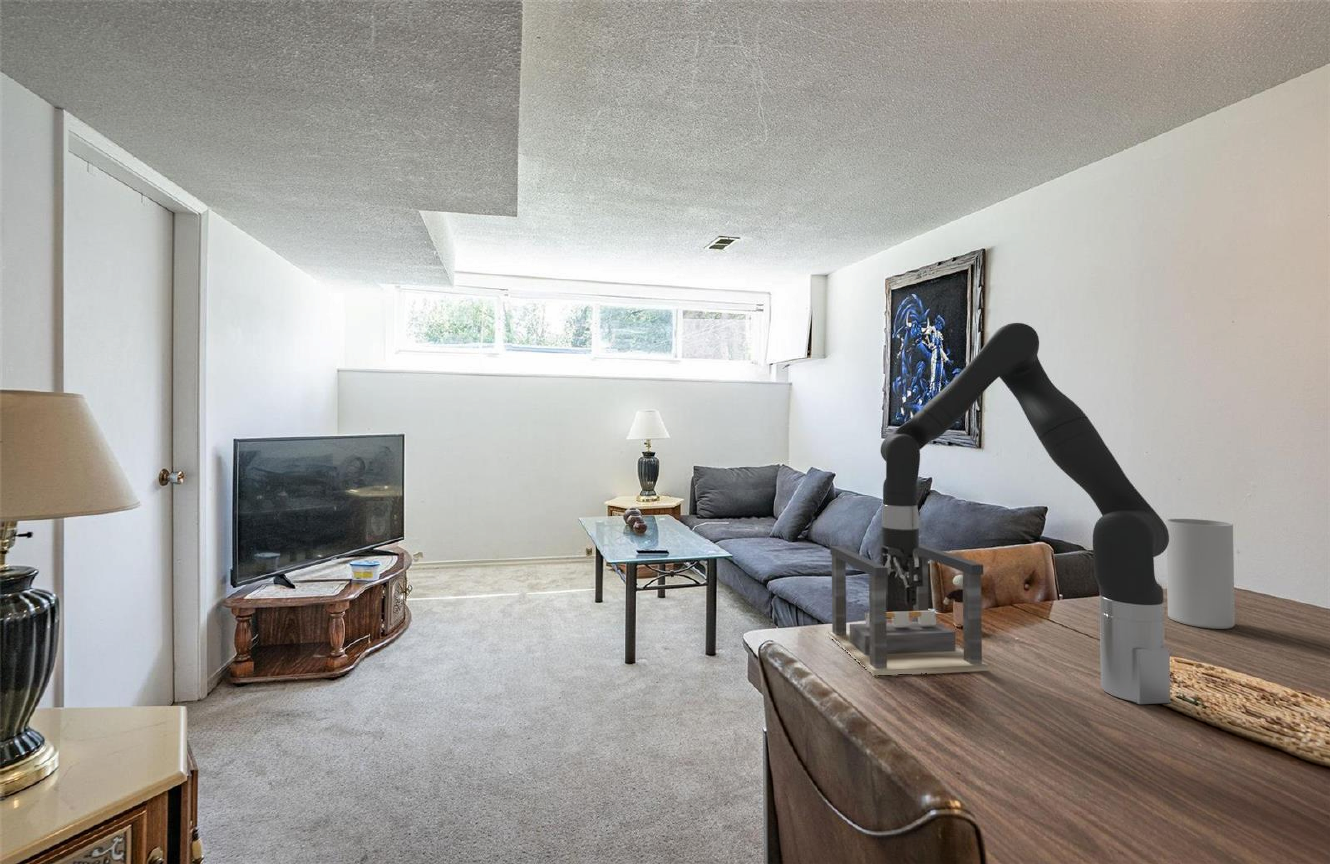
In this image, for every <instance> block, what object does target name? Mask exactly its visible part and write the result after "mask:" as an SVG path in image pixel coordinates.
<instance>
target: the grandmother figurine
mask: <svg viewBox="0 0 1330 864" xmlns="http://www.w3.org/2000/svg"><path fill="white" fill-rule="evenodd" d="M952 584H953V585H954V587H955V588H956V589H953V590H950V591H949V592H947V594H946V595H945V597H944V600H943V604H944V605H949V602H950V601H951V600H953V606H952V607H953V609H952V610H953V612H952V615H953V624H954V625H955V626H961V625H963V574H958V575H955V576H954V578H953V579H952Z"/></svg>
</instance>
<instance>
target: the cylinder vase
mask: <svg viewBox="0 0 1330 864" xmlns="http://www.w3.org/2000/svg"><path fill="white" fill-rule="evenodd" d="M1165 525H1166V527H1167V529H1168V533H1169V543H1168V546H1167V548H1166V581H1167V582H1166V584H1167V585H1166V589H1167V591H1166V592H1167V595H1166V596H1167V599H1166V600H1167V616H1168V618H1170V619H1171V620H1172V621H1175V622H1177V623H1180V624H1183V625H1188V626H1190V627H1197V628H1203V629H1214V630H1225V629H1226V630H1227V629H1231V628H1233V627H1234V626H1235V625H1236V624H1235V623H1236V621H1235V617H1236V616H1235V573H1234V572H1235V567H1234V565H1235V563H1234V561H1235V560H1234V558H1235V557H1234V524H1233V523H1230V522H1227V521H1226V522H1225V521H1219V520H1211V519H1209V520H1208V519H1198V518H1196V519H1195V518H1194V519H1193V518H1170V519H1166V521H1165Z"/></svg>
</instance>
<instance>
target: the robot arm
mask: <svg viewBox="0 0 1330 864" xmlns="http://www.w3.org/2000/svg"><path fill="white" fill-rule="evenodd" d="M1039 339H1040V338H1039V334H1038V333H1037V331H1036V330H1035V328H1033V327H1032V326H1030V325H1029V324H1026V323H1023V322H1022V323H1021V322H1012V323H1008V324H1005V325H1003V326H1001V327H1000V328H998V329H997V330H996V331H995V332H994V333H993V334H992V335H991V337H990V338H988V341H986V343H985V344H984V345H983V347H982V348H981V349H980V350H979V352H978V353H977V354H976V355H975V356H974V357H973V359H971V360H970V362H969V363H968V364H967V365H966V366H965V367H964V368H963V369H962V370H961V372H959V373H958V374H957V375H956V376H955V377H954V378H953V379H952V380H951V381H950V382H949V383H948V384H947V385H946V386H945V387H944V388H943V389H941V390H940V391H939V392H938V393H937V394H936V395H935V396H934V397H932V398H931V399H930V400H929V401H928V402H927V403H925V405H924V406H923V407H921V408H920V409H919V410H918V411H917V412H916V413H915V414H914V415H912V417H911V418H910V419H908V420H907V421H906V422H905V423H902V425H900V426H899V427H898V428H896V429H895V430H893V432H891V433H890V434H889V435H888V436H886V437H885V438H884V440H883V441H882V443H881V445H880V455H881V457H882V459H883V460H884V461H885V469H886V470H885V479H884V481H883V485H882V512H881V542H882V543H881V544H882V546H881V547H880V564H881V565H883V566H885V567H887V568H888V578H886V595H888V596H895V595H897V594H898V578H897V576H898V575H899V577H900V579H902V581H903V584H904V586H905V587H904V604H905V605H906V606H913V605H916V604H917V591H916V589H917V587H920V586H923V570H922V558H921V557H914V556H913V550H914V549H916V548H918V547H919V544H920V517H919V516H920V515H919V510H918V509H919V508H918V485H917V484H918V478H919V473H920V472H919V471H920V463H921V450H922V449H923V448H924V447H926V445H928V444H929V443H930V442H931V441H935V440H936V439H938V438H940V437H941V436H942V435H944V434H945V433H946V432H947V431H948V430H949V429H950V428H952V427H953V426H954V425H955V424H956V423H957V422H958V421H960V419H962V417H963V416H965V414H966V413H968V411H969V410H970V409H971V407H972V406H973V405H974V404H975V403H976V402H977V400H978V399H979V398H980V397H981V395H983V393H984V392H986V390H987V389H988V387H990V386H991V385H993V383H994V382H995V381H996V380H997V379H998V378H999V379H1000V380H1001V381H1002V382H1003V383H1004V385H1005V386H1006V387H1007V388H1008V389H1009V391H1010V392H1011V393H1012V395H1013V396H1014V397H1015V398H1016V400H1017V401H1018V403H1019V405H1020V407H1021V409H1022V411H1023V413H1024V415H1025V418H1027V421H1028V423H1029V425H1030V426H1031V428H1032V429H1033V431H1034V433H1035V435H1036V436H1037V438H1038V440H1039V441H1040V443H1041V444H1042V446H1043V448H1044V449H1045V451H1046V452H1047V455H1048V456H1049V457H1050V458H1051V460H1052V461H1053V463H1054V464H1055V465H1056V466H1057V467H1058V468H1059V469H1061V470H1062V472H1063V473H1065V474H1066V476H1068V477H1069V478H1070V479H1071V480H1073V481H1074V482H1075V483H1076V484H1077V485H1078V486H1080V488H1082V489H1083V490H1084V492H1086V494H1088V496H1089V497H1090V498H1091V500H1092V501H1093V503H1094V504H1095V506H1096V507H1097V509H1098V510H1099V513H1100V514H1101V515H1102V516H1101V517H1099V518H1098V520H1097V521H1096V522H1095V524H1094V528H1093V531H1092V532H1093V533H1092V555H1093V572H1094V577H1095V580H1096V582H1097V585H1098V588H1099V592H1098V593H1099V649H1100V650H1099V652H1100V653H1099V657H1100V663H1099V664H1100V666H1099V667H1100V688H1101V690H1102V691H1104V692H1105V693H1107V694H1109V695H1111V696H1113V697H1116V698H1120V699H1121V700H1126V701H1129V702H1133V703H1135V704H1138V705H1149V704H1150V705H1151V704H1170V703H1171V664H1170V663H1171V659H1170V658H1171V654H1170V648H1168V647H1166V646H1165V631H1164V630H1165V629H1164V627H1165V626H1164V625H1165V621H1164V617H1165V615H1164V614H1165V611H1164V607H1165V606H1164V589H1163V587H1162V585H1161V584H1159V583H1158V582H1157V580H1156V576H1155V560H1154V558H1155V557H1158V556H1160V555H1161V554H1163V553H1164V552H1165V551H1167V546H1168V543H1169V533H1168V529H1167V527H1166V522H1164V521H1163V519H1162V518H1161V516H1159V514H1158V513H1157V512H1156V511H1155V509H1154V508H1153V507H1152V506H1151V505H1150V504H1149V503H1148V502H1147V500H1146V499H1145V498H1144V497H1143V495H1142V494H1141V493H1140V492H1139V491H1138V489H1137V488H1136V487H1135V486H1134V484H1132V482H1131V481H1130V479H1128V477H1127V475H1126V473H1124V470H1122V467H1121V466H1120V464H1119V463H1118V461H1117V459H1116V458H1115V456H1114V455H1113V454H1112V452H1111V450H1110V449H1109V447H1108V446H1107V445H1106V443H1105V441H1104V440H1103V438H1102V436H1101V435H1100V433H1099V432H1098V430H1097V428H1095V425H1094V424H1093V423H1092V422H1091V420H1090V419H1089V417H1088V416H1087V415H1086V413H1085V412H1084V411H1083V410H1082V409H1081V408H1080V406H1078V405H1077V403H1075V402H1074V401H1073V400H1071V399H1070V398H1069V397H1068V396H1067V395H1066V394H1064V392H1062V391H1060V390H1059V389H1058V388H1057V387H1056V386H1055V385H1054V383H1053V382H1052V381H1051V378H1049V376H1048V374H1047V373H1046V371H1045V369H1044V367H1043V366H1042V364H1041V361H1040V359H1039V357H1038V355H1039V354H1038V352H1039V348H1040V340H1039ZM916 575H918V581H917V578H916Z"/></svg>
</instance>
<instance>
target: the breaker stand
mask: <svg viewBox="0 0 1330 864" xmlns="http://www.w3.org/2000/svg"><path fill="white" fill-rule="evenodd" d="M913 556H914V557H921V558H922V570H923V586H920V587H917V589H916V591H917V604H916V605H912V608H913V610H912V611H928V610H929V567H928V566H929V562H928V561H929V559H927V558H925V557H922V556H919V555H917V554H914V553H913ZM846 564H847V563H846V562H844V561H842V560H840V559H838V558H836V557H834V556H832V555H831V612H832V613H831V617H832V619H831V622H832V623H831V625H832V628H831V629H832V630H828V631H827V635H828V634H829V635H830V636H832V637H833V638H834V639H835V640H836V641H838V642H839V643H840V644H841V645H842V646H844V647H845V649H846V650H847V651H849V652H850V653H851V654H852V655H853V656H854V657H855V658H856V659H857V660H858V661H860V663H861V664H862V665H864V666H865V667H866V668H867V670H869V671H870V672H871V673H872V675H892V676H899V675H898V674H912V675H926V674H925V673H927V674H929V675H931V674H949V673H968V672H969V673H970V672H988V671H989V664H988V663H986V662H984V661H983V650H982V649H983V642H982V641H983V639H982V636H983V635H982V633H983V632H982V628H983V627H982V575H971V574H968V573H965V572H962V575H963V624H962V628H963V629H962V630H963V631H962V632H963V633H962V634H963V635H962V636H963V642H962V643H963V648H961V647H959V646H957V645H956V631H954V630H952V629H951V628H948V627H947V626H945V625H943V624H941V623H939V622H937V621H936V625H920V624H918V616H916V617H913V621H910V626H894V625H892V622H887V618H886V612H887V593H886V578H875V577H873V576H871V575H869V574H868V591H869V592H868V598H869V599H868V600H869V601H868V604H869V607H868V610H869V611H868V613H869V624H870V627H867V626H866V623H853V624H852V623H850V624H849V630H847V584H846V583H847V578H846V577H847V572H846V571H847V570H846V569H847V567H846V566H847V565H846ZM916 578H917V581H918V575H916ZM867 670H866V671H867ZM921 673H922V674H921ZM872 675H871V676H872Z"/></svg>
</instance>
